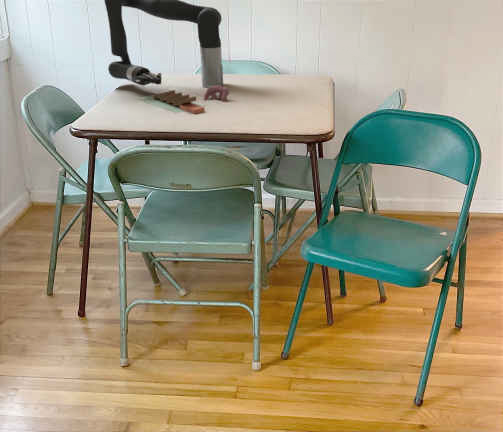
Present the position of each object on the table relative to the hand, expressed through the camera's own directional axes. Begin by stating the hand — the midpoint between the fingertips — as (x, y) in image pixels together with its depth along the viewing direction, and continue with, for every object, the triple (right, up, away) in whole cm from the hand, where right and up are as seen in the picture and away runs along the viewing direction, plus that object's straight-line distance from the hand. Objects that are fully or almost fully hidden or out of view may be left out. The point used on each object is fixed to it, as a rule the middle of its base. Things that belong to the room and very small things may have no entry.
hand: (159, 81), depth 261 cm
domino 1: (-1, -5, +4) cm, 7 cm away
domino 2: (+2, -7, +1) cm, 7 cm away
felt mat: (+5, -9, -2) cm, 10 cm away
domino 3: (+5, -9, -3) cm, 11 cm away
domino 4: (+9, -10, -7) cm, 15 cm away
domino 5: (+12, -12, -10) cm, 19 cm away
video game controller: (+24, -8, +1) cm, 25 cm away
